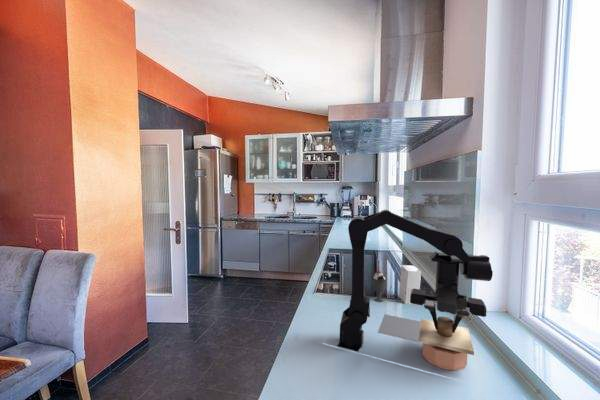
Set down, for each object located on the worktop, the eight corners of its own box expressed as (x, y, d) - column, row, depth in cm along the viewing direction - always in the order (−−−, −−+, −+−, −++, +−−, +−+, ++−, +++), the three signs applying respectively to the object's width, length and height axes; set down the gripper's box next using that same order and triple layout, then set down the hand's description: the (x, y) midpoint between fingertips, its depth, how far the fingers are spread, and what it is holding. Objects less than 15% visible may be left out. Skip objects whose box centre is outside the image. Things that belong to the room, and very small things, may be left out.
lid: (418, 342, 77) (419, 324, 77) (420, 321, 89) (421, 306, 89) (473, 355, 72) (474, 336, 71) (468, 331, 83) (468, 315, 83)
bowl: (422, 364, 78) (422, 346, 78) (423, 344, 88) (423, 328, 88) (467, 376, 73) (468, 357, 73) (463, 353, 83) (464, 337, 83)
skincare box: (398, 297, 125) (400, 264, 124) (412, 297, 125) (413, 264, 124) (405, 305, 117) (407, 270, 116) (420, 305, 117) (421, 270, 116)
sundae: (374, 296, 125) (375, 263, 125) (388, 300, 121) (390, 266, 120) (367, 301, 120) (368, 266, 119) (382, 305, 116) (383, 270, 115)
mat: (377, 333, 94) (377, 332, 94) (384, 315, 107) (384, 314, 107) (426, 345, 88) (426, 343, 88) (427, 324, 101) (427, 322, 101)
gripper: (409, 280, 76) (407, 336, 77) (491, 292, 68) (488, 354, 69) (412, 269, 86) (410, 319, 87) (484, 279, 78) (481, 333, 79)
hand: (444, 330), depth 80 cm, fingers closed on lid, 4 cm apart
